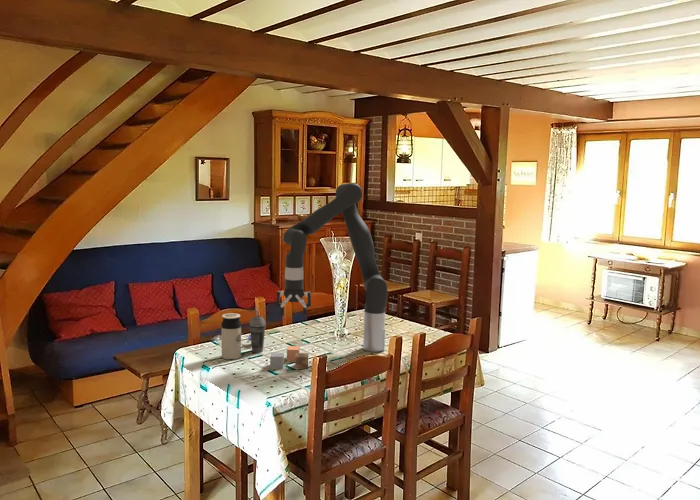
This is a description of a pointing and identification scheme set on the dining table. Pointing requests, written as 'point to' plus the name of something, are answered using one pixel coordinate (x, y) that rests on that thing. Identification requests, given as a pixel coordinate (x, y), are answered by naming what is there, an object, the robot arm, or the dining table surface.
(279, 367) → the slate block
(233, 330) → the travel mug
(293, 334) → the dining table surface
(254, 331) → the beverage cup
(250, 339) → the geometric puzzle
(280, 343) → the dining table surface
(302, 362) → the walnut block
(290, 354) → the terracotta block
